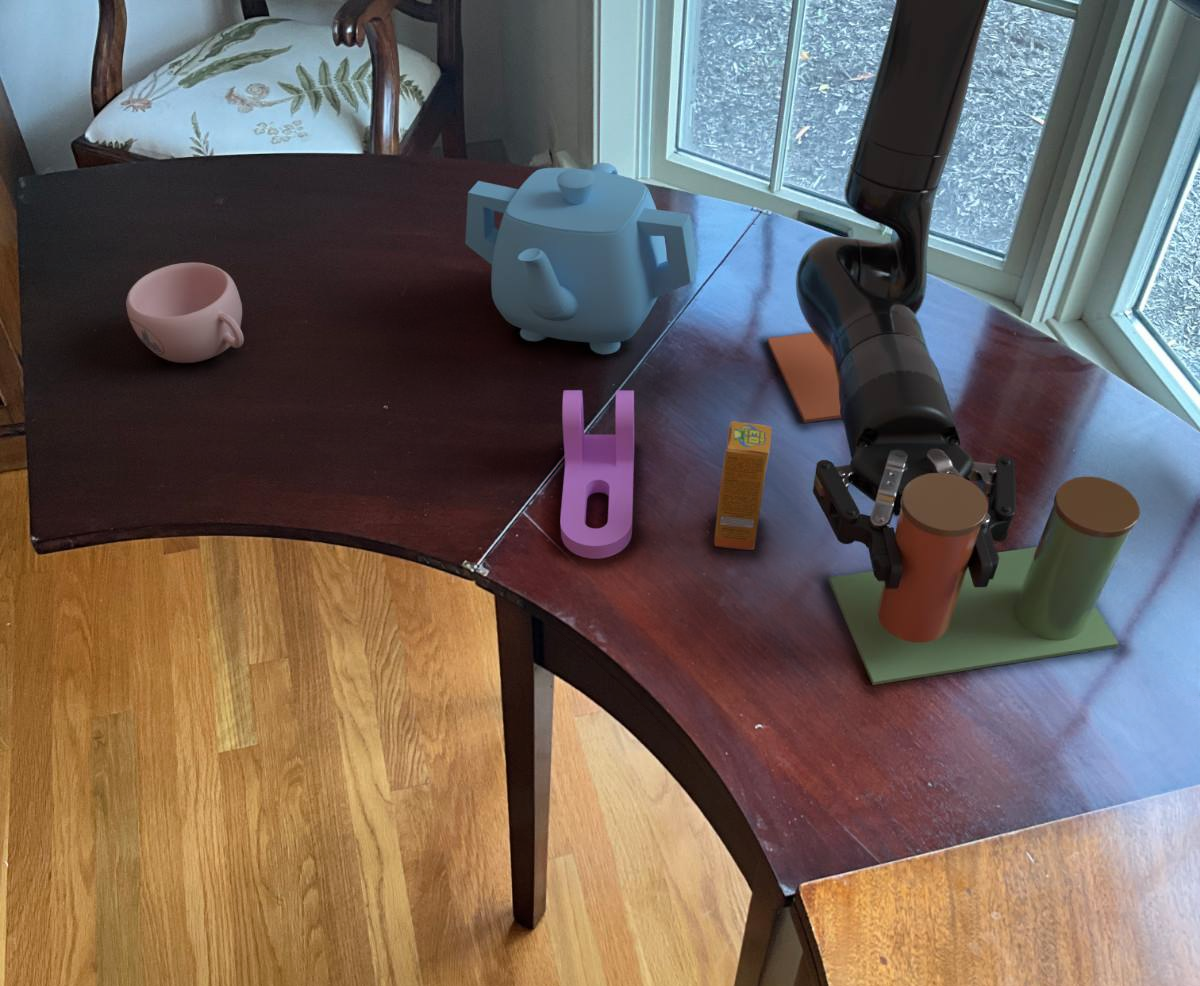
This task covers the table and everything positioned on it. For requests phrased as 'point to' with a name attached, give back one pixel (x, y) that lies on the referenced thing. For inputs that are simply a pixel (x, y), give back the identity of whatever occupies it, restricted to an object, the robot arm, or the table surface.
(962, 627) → the sage mat
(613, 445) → the bracket
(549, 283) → the teapot
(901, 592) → the terracotta canister
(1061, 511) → the sage canister
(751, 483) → the supplement box
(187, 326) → the mug
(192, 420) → the table surface
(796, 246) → the table surface
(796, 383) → the terracotta mat
